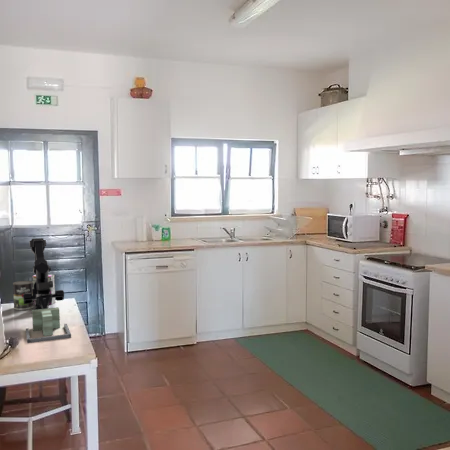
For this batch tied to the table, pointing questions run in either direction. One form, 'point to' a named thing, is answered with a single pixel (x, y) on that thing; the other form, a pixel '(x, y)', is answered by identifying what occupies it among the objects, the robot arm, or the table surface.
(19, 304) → the coffee can
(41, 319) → the T-block
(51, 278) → the candy bar box
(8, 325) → the table surface
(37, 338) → the frame
